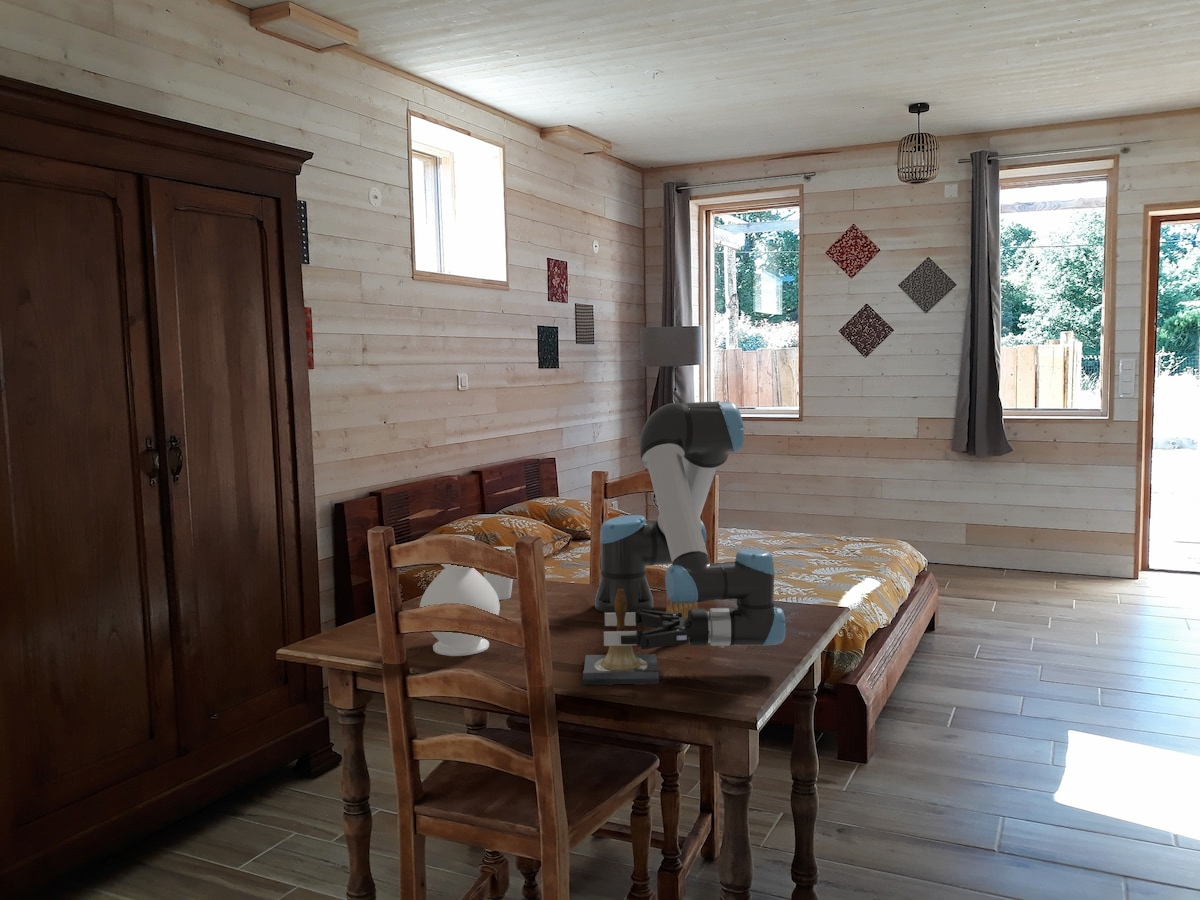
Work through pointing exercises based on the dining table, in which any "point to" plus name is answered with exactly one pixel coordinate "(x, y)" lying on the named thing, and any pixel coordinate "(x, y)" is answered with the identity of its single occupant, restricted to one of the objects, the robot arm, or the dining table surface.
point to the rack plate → (620, 672)
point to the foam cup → (500, 582)
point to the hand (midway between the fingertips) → (604, 628)
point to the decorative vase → (461, 589)
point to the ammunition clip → (680, 608)
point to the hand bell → (620, 655)
